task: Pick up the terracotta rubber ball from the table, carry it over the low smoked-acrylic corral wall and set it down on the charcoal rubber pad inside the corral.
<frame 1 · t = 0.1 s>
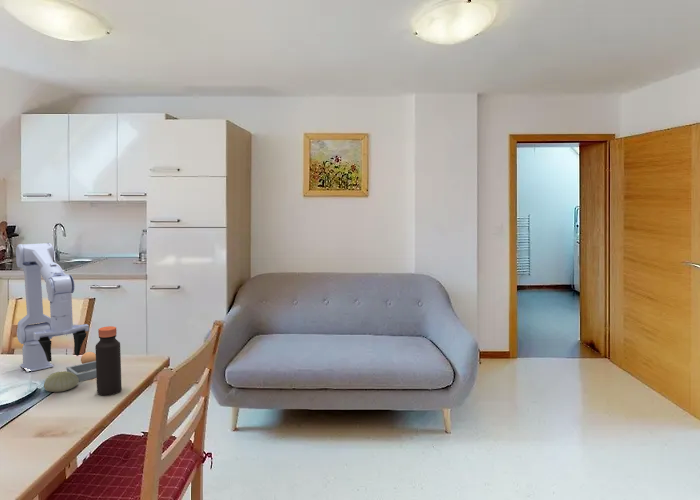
hand: (63, 357, 145), 10 cm above the table, fingers open, 7 cm apart
bottle: (109, 392, 145), on the table
corral: (88, 374, 159), on the table
sea urchin shell: (61, 388, 147), on the table
ball: (89, 365, 166), on the table
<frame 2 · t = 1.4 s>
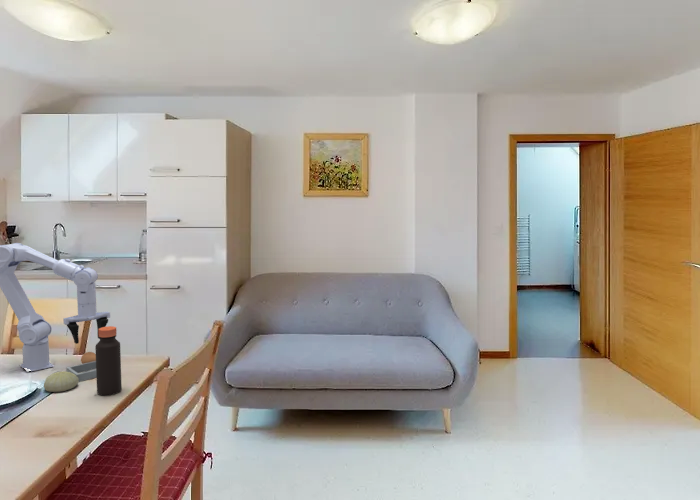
hand: (88, 340, 165), 9 cm above the table, fingers open, 7 cm apart
nothing on the table moved.
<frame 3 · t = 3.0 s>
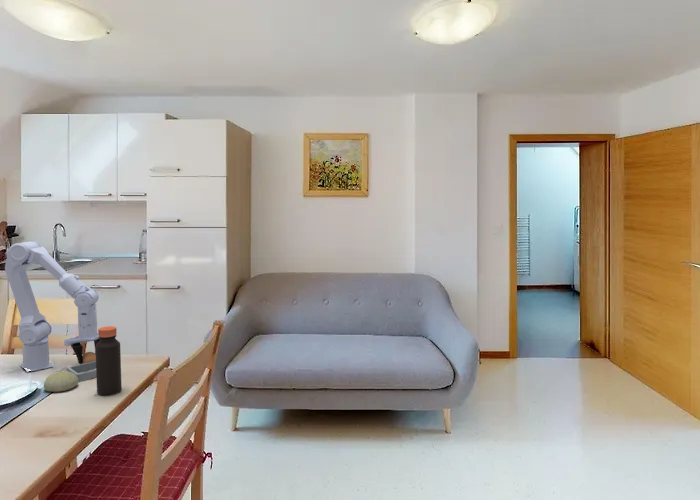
hand: (89, 361, 166), 2 cm above the table, fingers closed on ball, 5 cm apart
ball: (89, 365, 166), on the table, touching gripper
everything else where it was.
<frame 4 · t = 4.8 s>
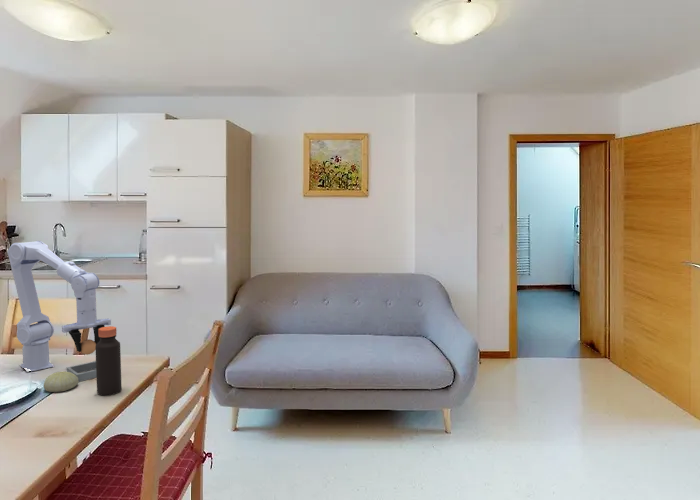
hand: (88, 349, 158), 9 cm above the table, fingers closed on ball, 5 cm apart
ball: (88, 354, 158), point 7 cm above the table, touching gripper
everything else where it was.
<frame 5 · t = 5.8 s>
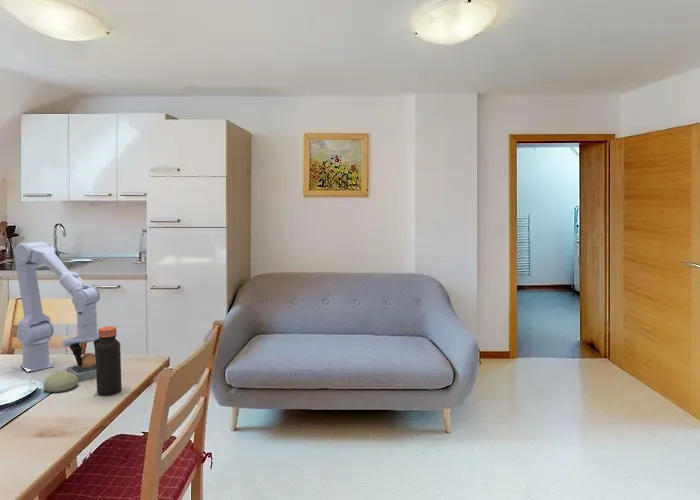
hand: (88, 363, 158), 4 cm above the table, fingers closed on ball, 5 cm apart
ball: (88, 367, 158), point 2 cm above the table, touching gripper
everything else where it was.
when the fingers open (4 cm above the table, at t = 6.5 s): ball drops 2 cm, resting on corral.
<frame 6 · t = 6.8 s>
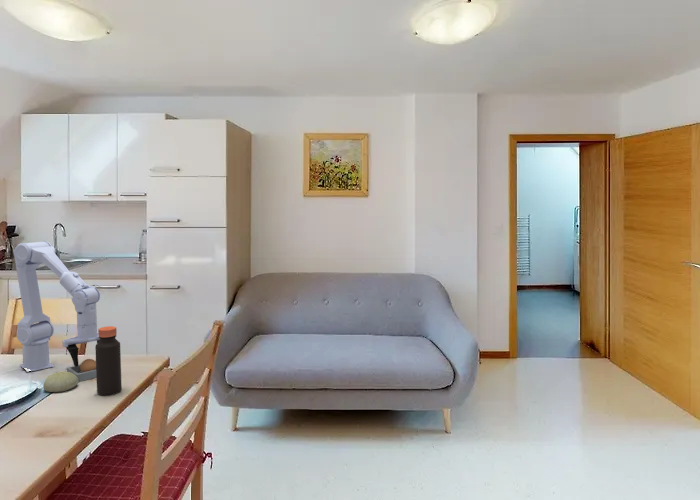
hand: (88, 363, 158), 4 cm above the table, fingers open, 7 cm apart
ball: (89, 373, 159), resting on corral
everything else where it was.
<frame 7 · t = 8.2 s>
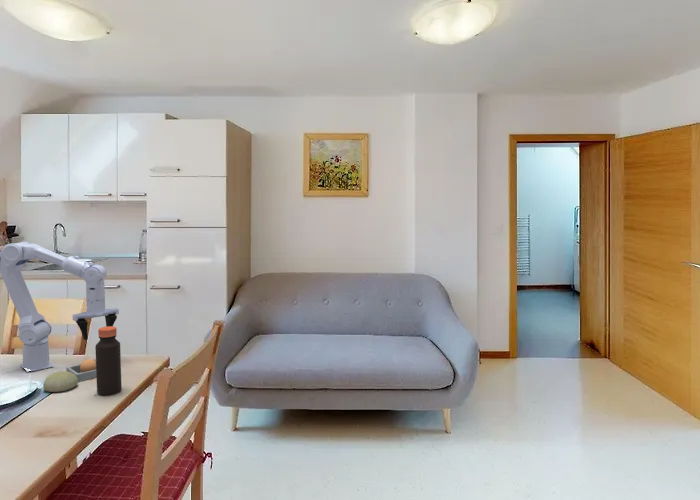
hand: (97, 337, 166), 10 cm above the table, fingers open, 7 cm apart
nothing on the table moved.
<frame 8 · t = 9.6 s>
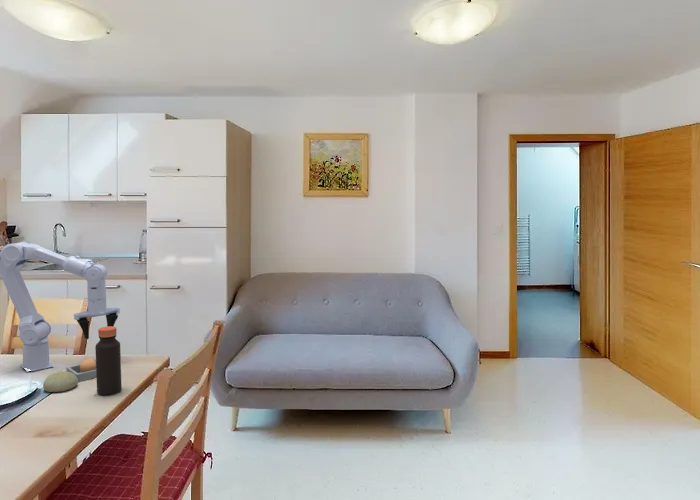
hand: (98, 336, 167), 10 cm above the table, fingers open, 7 cm apart
nothing on the table moved.
at the end: ball inside the target area on the corral (0.1 cm from its centre), point 0.2 cm above the corral's base; the gripper is holding nothing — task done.
